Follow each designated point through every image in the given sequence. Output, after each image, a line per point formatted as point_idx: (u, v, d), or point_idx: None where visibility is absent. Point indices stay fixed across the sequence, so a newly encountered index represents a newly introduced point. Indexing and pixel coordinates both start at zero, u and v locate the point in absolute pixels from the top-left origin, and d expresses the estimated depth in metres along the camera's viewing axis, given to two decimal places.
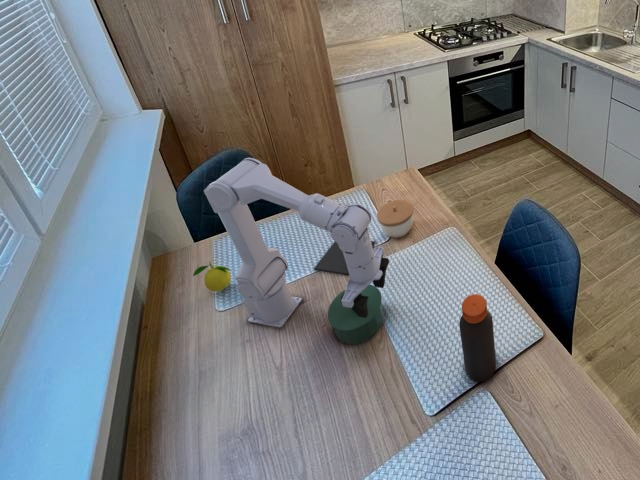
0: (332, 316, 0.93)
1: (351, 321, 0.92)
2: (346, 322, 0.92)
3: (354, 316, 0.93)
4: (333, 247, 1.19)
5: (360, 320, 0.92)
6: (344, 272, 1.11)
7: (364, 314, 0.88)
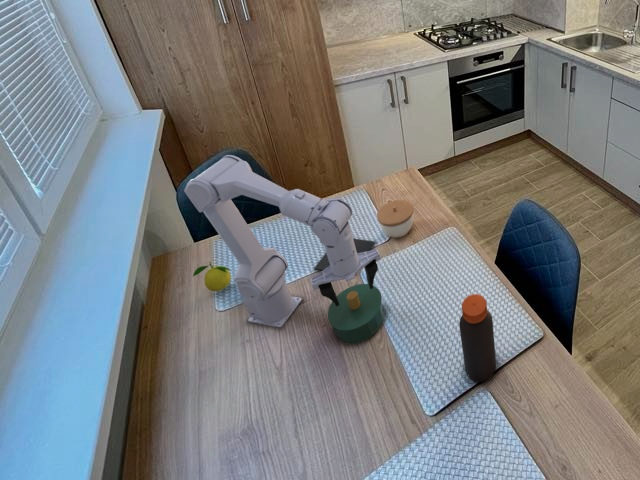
0: (332, 316, 0.93)
1: (351, 321, 0.92)
2: (346, 322, 0.92)
3: (354, 316, 0.93)
4: None
5: (360, 320, 0.92)
6: None
7: (334, 302, 0.90)
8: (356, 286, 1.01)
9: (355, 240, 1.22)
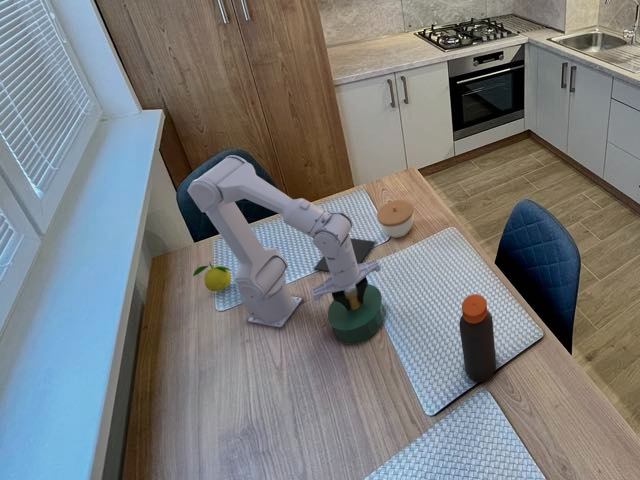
0: (332, 316, 0.93)
1: (351, 321, 0.92)
2: (346, 322, 0.92)
3: (354, 316, 0.93)
4: None
5: (360, 320, 0.92)
6: None
7: None
8: None
9: (355, 240, 1.22)
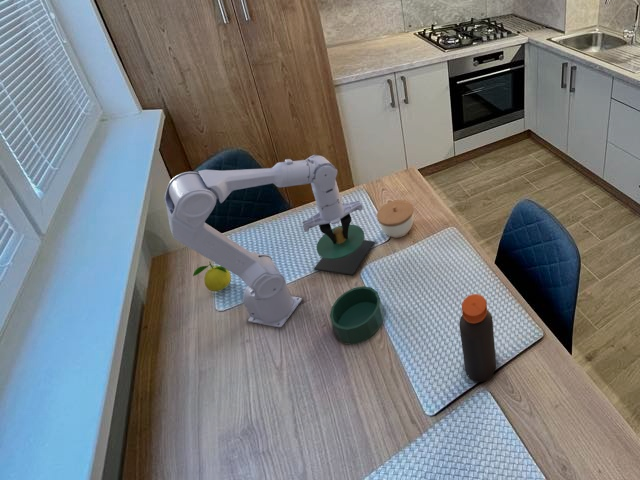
0: (320, 248, 1.07)
1: (337, 252, 1.06)
2: (332, 253, 1.06)
3: (339, 248, 1.07)
4: None
5: (344, 251, 1.06)
6: (344, 272, 1.11)
7: (332, 240, 1.07)
8: None
9: None
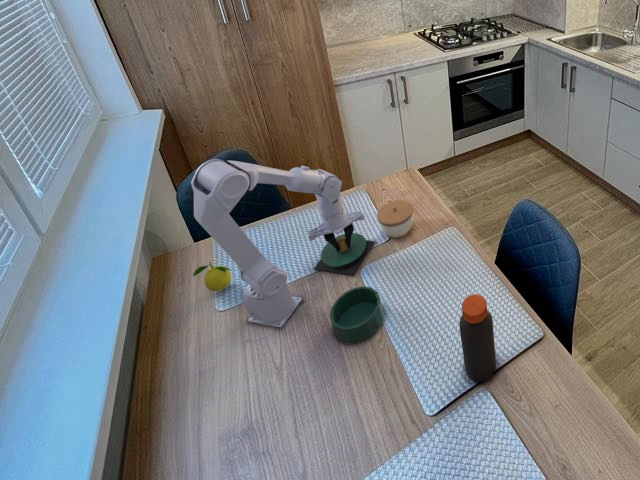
0: (325, 256, 1.13)
1: (340, 259, 1.12)
2: (336, 260, 1.12)
3: (343, 256, 1.13)
4: None
5: (347, 259, 1.12)
6: (344, 272, 1.11)
7: (335, 248, 1.13)
8: None
9: None
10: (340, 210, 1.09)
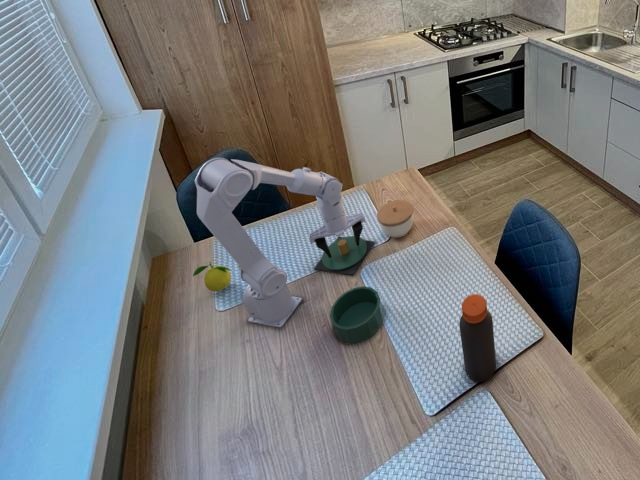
0: (326, 259, 1.14)
1: (341, 263, 1.13)
2: (337, 263, 1.13)
3: (344, 259, 1.14)
4: None
5: (348, 262, 1.13)
6: (344, 272, 1.11)
7: None
8: (346, 238, 1.21)
9: None
10: (341, 213, 1.09)
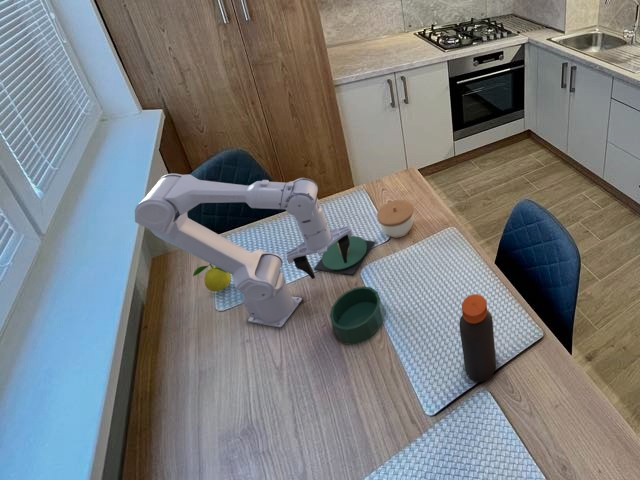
0: (326, 259, 1.14)
1: (341, 263, 1.13)
2: (337, 263, 1.13)
3: None
4: None
5: (348, 262, 1.13)
6: (344, 272, 1.11)
7: (310, 275, 0.97)
8: None
9: None
10: (313, 232, 0.92)
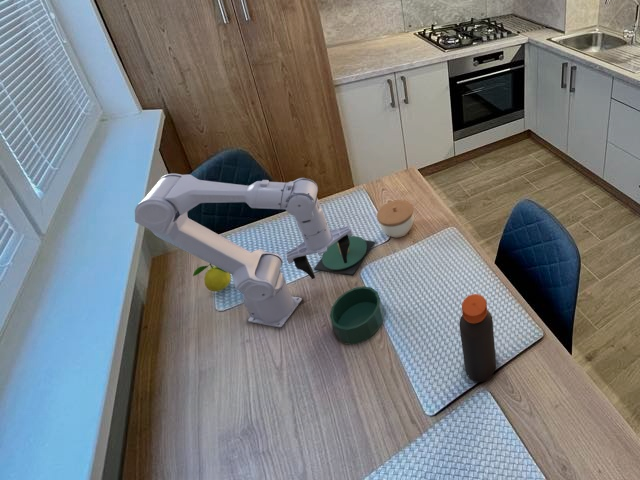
0: (326, 259, 1.14)
1: (341, 263, 1.13)
2: (337, 263, 1.13)
3: None
4: None
5: (348, 262, 1.13)
6: (344, 272, 1.11)
7: (310, 275, 0.97)
8: None
9: None
10: (313, 232, 0.92)
